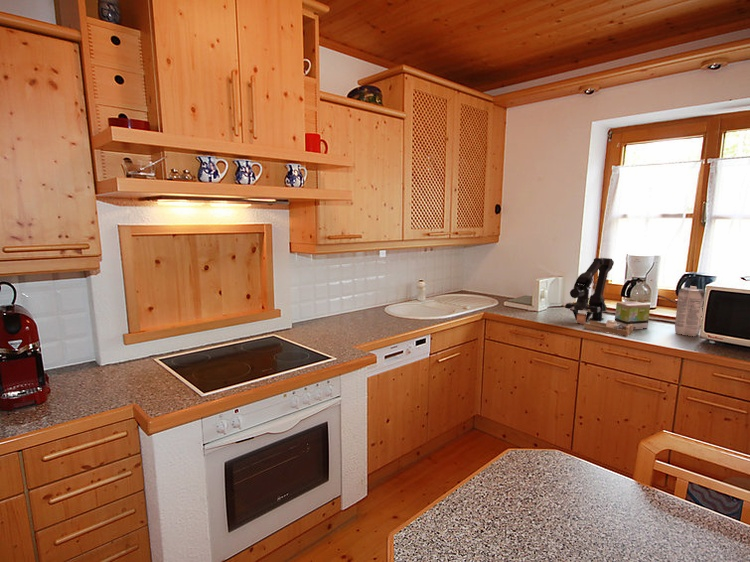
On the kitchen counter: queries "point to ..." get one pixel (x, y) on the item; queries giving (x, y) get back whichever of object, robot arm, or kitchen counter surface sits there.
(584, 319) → the pinkish tan cube
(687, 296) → the juice carton
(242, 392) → the kitchen counter surface
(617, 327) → the pusher plate
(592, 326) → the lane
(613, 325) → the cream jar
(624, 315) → the tea box
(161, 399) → the kitchen counter surface
